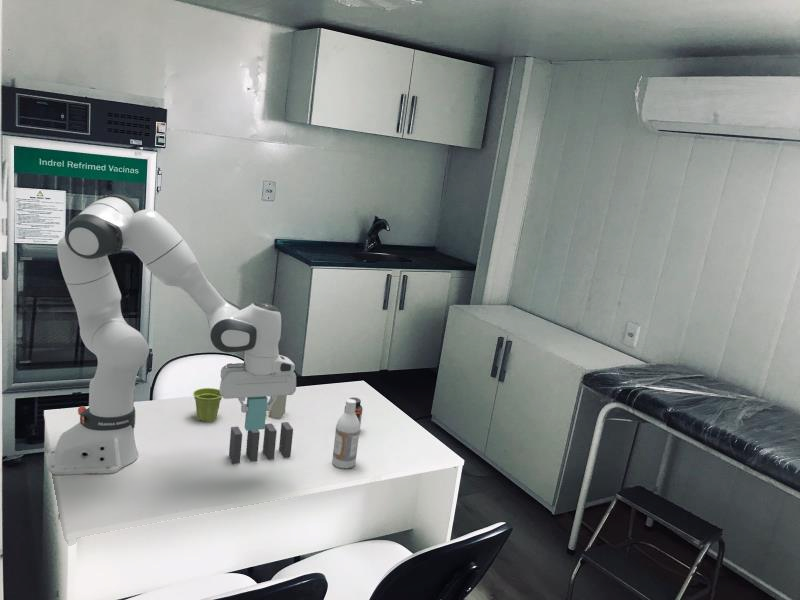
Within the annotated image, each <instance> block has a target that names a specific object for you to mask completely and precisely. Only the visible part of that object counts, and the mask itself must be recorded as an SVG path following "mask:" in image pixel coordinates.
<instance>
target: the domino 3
mask: <svg viewBox="0 0 800 600" xmlns="http://www.w3.org/2000/svg"><path fill="white" fill-rule="evenodd" d="M260 433H261V432H260V430H249V431H247V438H246V450H245V454H246V457H247V458H248V460H249V461H250V463H252V462H258V455H259V446H260Z"/></svg>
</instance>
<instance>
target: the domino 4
mask: <svg viewBox="0 0 800 600" xmlns="http://www.w3.org/2000/svg"><path fill="white" fill-rule="evenodd" d="M277 430H278V429H276V428H275V425H273V423H265V429H264V431H263V433H264V434H263V445H262V454H263V455H264V456H265V458H266V460H267V461H269V460H274V459H275V453H276V452H275V451H276V443H277V442H276V441H277Z"/></svg>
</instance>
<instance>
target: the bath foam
mask: <svg viewBox="0 0 800 600" xmlns="http://www.w3.org/2000/svg"><path fill="white" fill-rule="evenodd" d="M345 405H346V407H345V406H344V410H345V412H344V411H343V413H342V414H341V415H340V416H339V418H338V420H337V422H336V425H335V426H336V427H335V432H334V433H335V435H334V443H333V449H332V451H333V452H332V461H331V463H332V464H333V465H334V466H335V467H336V468H339V469H344V468H345V470H346V469H351V468H354V467H355V466H356V462H357V461H356V460H357V454H358V448H359V447H358V445H359V437H360V430H361V424H360V423H359V420H358V418H357V416H356V414H355V408H356V401H355V400H353V399H349V398H347V399H346V401H345Z"/></svg>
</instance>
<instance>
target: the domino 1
mask: <svg viewBox="0 0 800 600" xmlns="http://www.w3.org/2000/svg"><path fill="white" fill-rule="evenodd" d="M229 435H230V437H229V449H228V450H229V451H228V458H229V459H230V460H231V462H232V464H240V463H241V457H242V456H241V455H242V444H243V432H242V430H241V429H240V427H239V426H231V427H230V434H229Z"/></svg>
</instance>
